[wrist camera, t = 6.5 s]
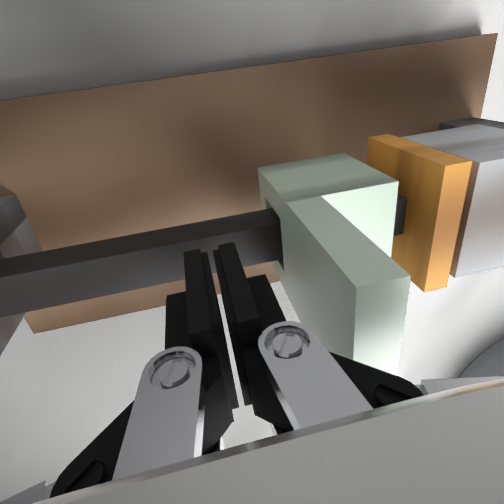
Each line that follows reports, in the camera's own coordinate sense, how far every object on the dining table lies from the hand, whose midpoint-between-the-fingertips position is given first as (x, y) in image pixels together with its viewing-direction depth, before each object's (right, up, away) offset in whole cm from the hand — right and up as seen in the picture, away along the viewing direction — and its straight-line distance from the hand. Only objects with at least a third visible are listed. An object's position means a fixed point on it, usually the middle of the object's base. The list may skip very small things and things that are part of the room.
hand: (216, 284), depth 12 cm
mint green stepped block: (+4, +3, +5) cm, 7 cm away
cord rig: (+1, +5, +8) cm, 9 cm away
